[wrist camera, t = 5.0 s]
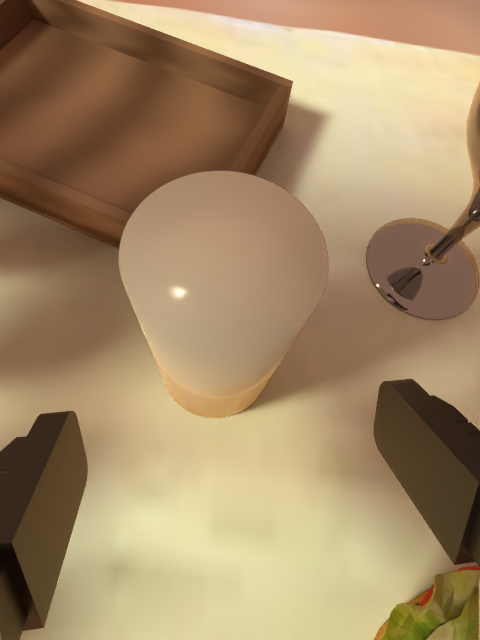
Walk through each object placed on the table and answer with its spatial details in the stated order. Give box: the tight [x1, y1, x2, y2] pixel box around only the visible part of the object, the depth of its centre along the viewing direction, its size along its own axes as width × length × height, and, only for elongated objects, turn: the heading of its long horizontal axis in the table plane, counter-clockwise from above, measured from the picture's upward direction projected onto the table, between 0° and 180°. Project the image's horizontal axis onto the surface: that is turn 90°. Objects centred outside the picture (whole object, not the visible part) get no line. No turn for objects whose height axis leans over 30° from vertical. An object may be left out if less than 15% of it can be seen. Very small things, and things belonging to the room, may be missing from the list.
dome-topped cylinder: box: [119, 171, 328, 418], centre depth 15 cm, size 6×6×11 cm
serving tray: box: [0, 0, 293, 248], centre depth 24 cm, size 20×14×3 cm
